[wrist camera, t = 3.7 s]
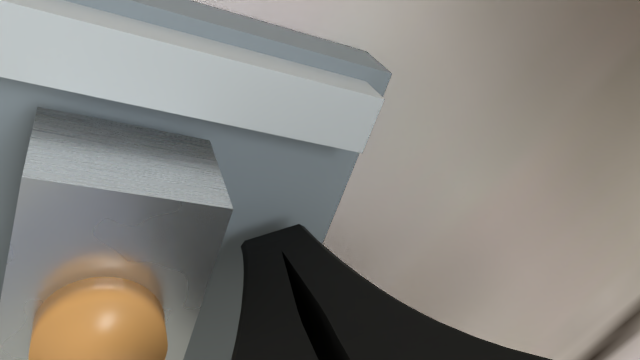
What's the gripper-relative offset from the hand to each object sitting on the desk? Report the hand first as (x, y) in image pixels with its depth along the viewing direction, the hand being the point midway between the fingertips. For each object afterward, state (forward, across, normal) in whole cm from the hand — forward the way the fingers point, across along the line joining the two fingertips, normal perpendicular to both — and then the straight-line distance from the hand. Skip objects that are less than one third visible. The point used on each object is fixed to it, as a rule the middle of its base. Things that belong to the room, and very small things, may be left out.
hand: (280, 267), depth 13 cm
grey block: (+1, +3, -2) cm, 4 cm away
